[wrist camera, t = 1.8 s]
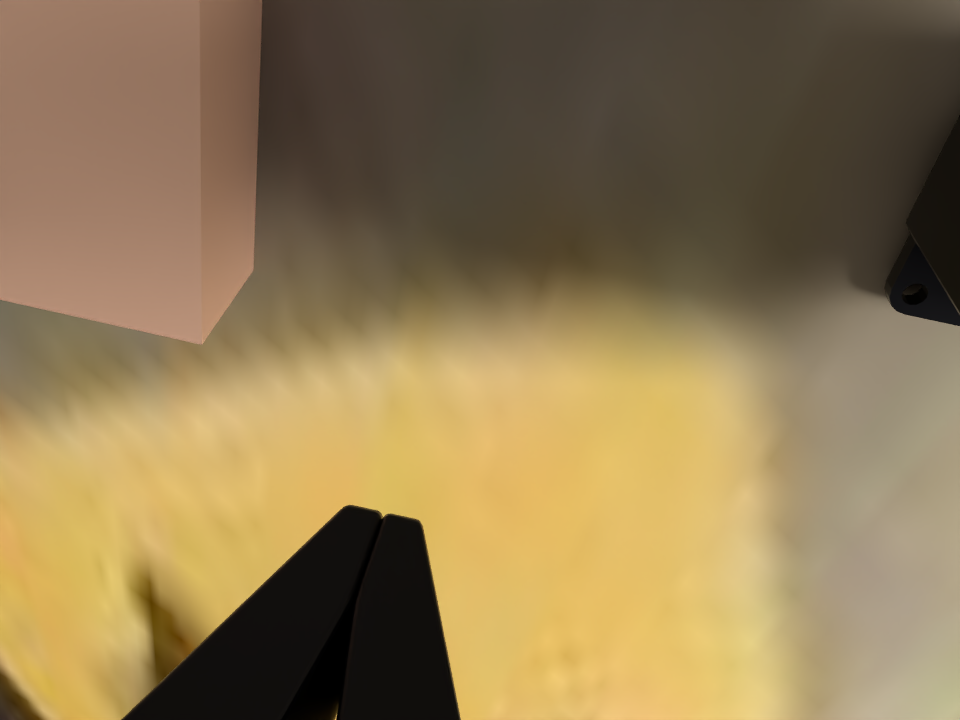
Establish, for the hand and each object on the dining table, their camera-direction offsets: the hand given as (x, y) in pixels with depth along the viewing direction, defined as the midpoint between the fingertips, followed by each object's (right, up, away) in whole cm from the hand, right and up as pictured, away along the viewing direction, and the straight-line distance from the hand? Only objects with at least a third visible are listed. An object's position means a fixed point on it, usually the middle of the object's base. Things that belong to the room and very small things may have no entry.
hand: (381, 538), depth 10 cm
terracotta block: (-7, +8, +9) cm, 14 cm away
